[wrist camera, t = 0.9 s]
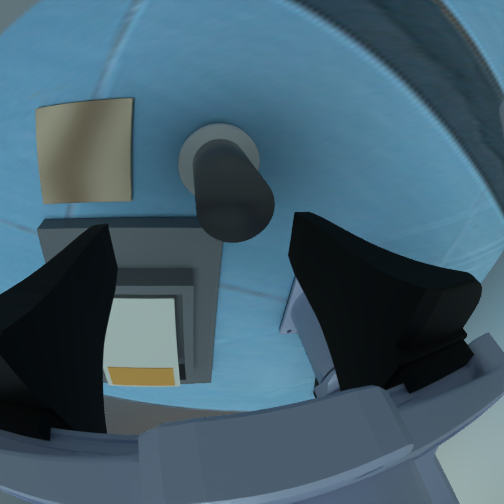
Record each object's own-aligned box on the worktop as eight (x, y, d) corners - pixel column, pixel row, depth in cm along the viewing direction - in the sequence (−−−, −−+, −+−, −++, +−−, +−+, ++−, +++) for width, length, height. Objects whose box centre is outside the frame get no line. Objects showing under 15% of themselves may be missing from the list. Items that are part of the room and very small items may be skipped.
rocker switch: (174, 292, 21) (174, 299, 20) (180, 380, 25) (180, 387, 24) (86, 291, 19) (83, 298, 18) (109, 379, 23) (108, 386, 22)
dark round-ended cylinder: (253, 120, 17) (304, 156, 10) (243, 184, 20) (281, 258, 13) (182, 115, 16) (177, 147, 9) (177, 182, 19) (174, 259, 12)
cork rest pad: (133, 97, 15) (132, 98, 14) (132, 198, 19) (131, 201, 18) (38, 107, 13) (35, 108, 13) (46, 201, 17) (43, 204, 16)
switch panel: (221, 218, 21) (228, 243, 18) (209, 372, 32) (213, 397, 29) (44, 219, 18) (26, 244, 15) (95, 371, 28) (92, 396, 25)
